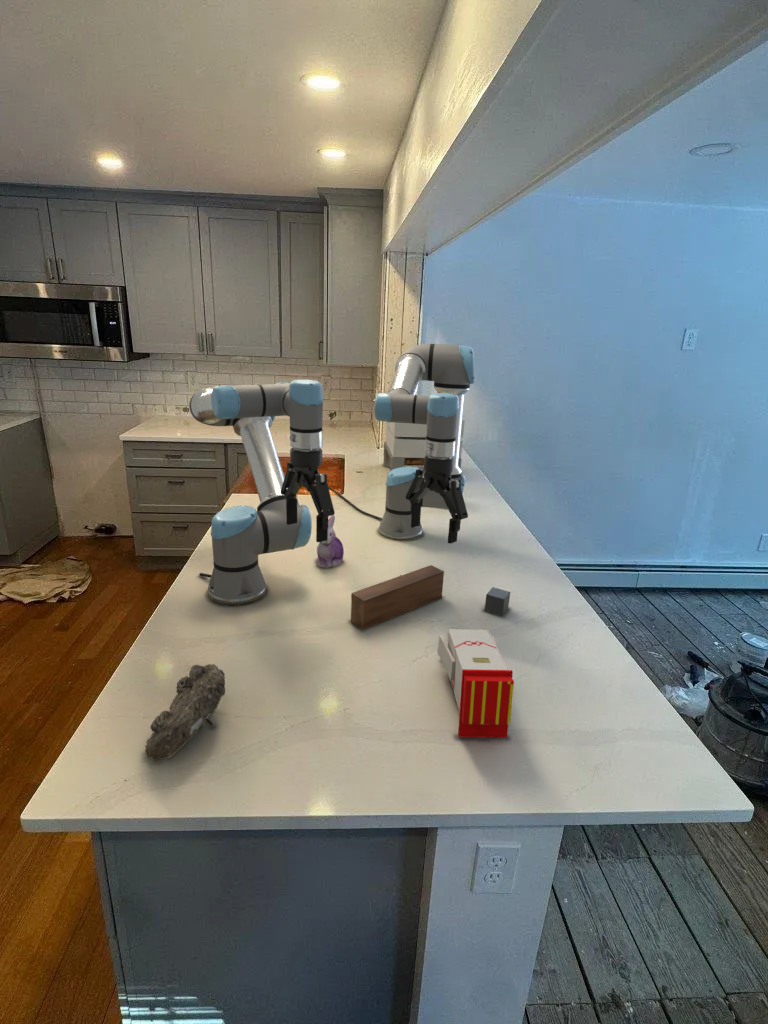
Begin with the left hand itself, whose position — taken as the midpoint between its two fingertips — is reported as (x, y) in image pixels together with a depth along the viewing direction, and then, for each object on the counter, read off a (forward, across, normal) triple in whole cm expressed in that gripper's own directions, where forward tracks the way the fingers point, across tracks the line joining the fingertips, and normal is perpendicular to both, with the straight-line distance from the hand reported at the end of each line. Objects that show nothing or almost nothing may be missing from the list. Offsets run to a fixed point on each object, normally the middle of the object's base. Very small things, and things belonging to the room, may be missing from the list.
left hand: (306, 531), depth 140 cm
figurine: (+22, -20, +22) cm, 37 cm away
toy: (+22, +49, +9) cm, 54 cm away
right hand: (+3, +14, +31) cm, 34 cm away
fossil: (+22, +23, -40) cm, 51 cm away
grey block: (+22, +29, +41) cm, 55 cm away
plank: (+22, +14, +20) cm, 33 cm away
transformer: (+22, -79, +115) cm, 142 cm away
